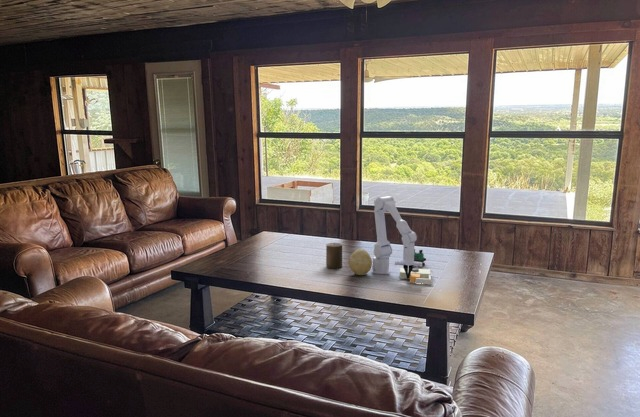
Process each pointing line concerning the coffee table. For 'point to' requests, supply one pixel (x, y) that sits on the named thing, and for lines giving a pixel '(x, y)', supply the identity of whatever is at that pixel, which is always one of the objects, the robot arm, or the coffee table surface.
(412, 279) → the chute block
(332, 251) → the pillar candle
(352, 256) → the fossilized egg
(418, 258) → the binoculars
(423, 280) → the white notched block
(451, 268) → the coffee table surface
